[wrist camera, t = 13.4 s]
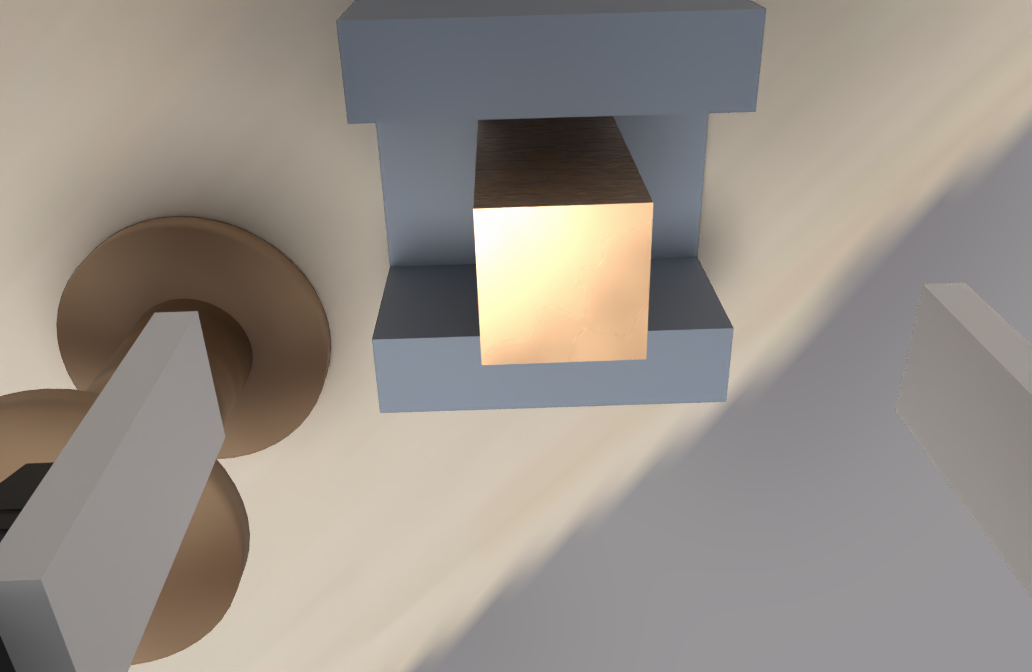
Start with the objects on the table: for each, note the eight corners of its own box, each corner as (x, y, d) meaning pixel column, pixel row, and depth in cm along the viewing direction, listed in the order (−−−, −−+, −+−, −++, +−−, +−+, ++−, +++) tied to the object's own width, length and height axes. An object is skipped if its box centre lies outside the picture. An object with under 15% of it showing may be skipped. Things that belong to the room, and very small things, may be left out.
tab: (478, 116, 27) (473, 208, 20) (611, 112, 27) (653, 202, 20) (484, 240, 29) (481, 365, 22) (608, 236, 29) (646, 359, 22)
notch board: (368, -17, 26) (335, 16, 21) (709, -27, 26) (766, 4, 21) (399, 318, 32) (380, 415, 26) (685, 309, 32) (725, 404, 26)
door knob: (38, 220, 30) (-184, 399, 20) (313, 212, 30) (226, 386, 20) (103, 447, 34) (-53, 685, 24) (344, 439, 34) (285, 674, 24)
